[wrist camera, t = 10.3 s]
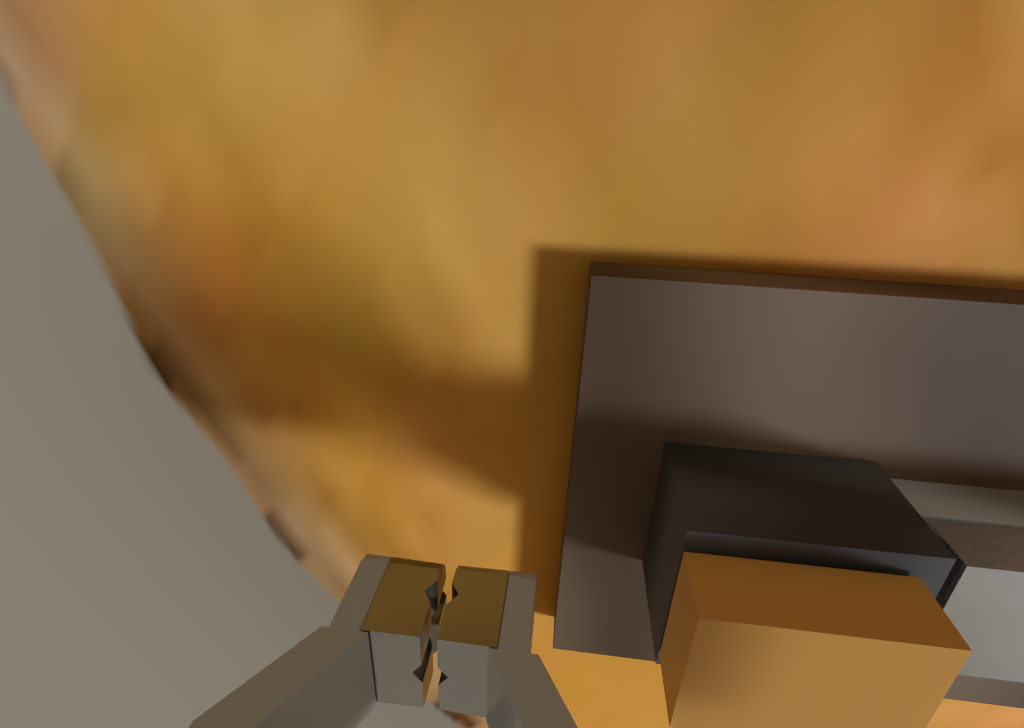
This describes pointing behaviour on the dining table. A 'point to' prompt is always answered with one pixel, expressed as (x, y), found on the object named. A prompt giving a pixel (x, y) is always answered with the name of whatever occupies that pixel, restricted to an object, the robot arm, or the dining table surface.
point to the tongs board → (782, 437)
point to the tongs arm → (986, 596)
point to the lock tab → (804, 647)
